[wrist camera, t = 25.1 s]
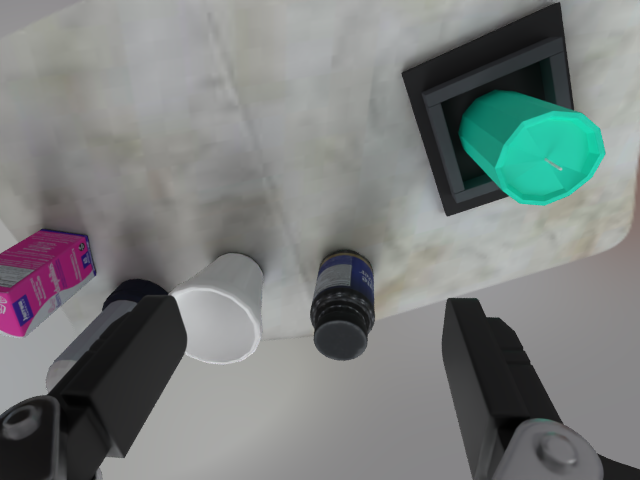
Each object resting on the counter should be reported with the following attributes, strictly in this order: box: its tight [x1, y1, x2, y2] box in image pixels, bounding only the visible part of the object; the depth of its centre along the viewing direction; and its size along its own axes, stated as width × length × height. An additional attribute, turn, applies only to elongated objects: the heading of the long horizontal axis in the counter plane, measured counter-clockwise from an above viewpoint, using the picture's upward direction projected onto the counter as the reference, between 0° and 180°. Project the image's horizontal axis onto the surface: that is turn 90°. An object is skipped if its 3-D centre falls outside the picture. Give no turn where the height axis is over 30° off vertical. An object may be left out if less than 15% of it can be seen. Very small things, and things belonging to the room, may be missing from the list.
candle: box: [458, 90, 606, 206], centre depth 26 cm, size 6×6×12 cm
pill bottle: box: [310, 250, 375, 361], centre depth 36 cm, size 6×6×11 cm
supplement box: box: [0, 229, 96, 338], centre depth 39 cm, size 6×6×12 cm
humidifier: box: [46, 279, 168, 393], centre depth 36 cm, size 8×8×25 cm
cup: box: [168, 253, 263, 365], centre depth 39 cm, size 10×10×9 cm
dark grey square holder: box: [402, 2, 574, 216], centre depth 31 cm, size 14×12×3 cm
